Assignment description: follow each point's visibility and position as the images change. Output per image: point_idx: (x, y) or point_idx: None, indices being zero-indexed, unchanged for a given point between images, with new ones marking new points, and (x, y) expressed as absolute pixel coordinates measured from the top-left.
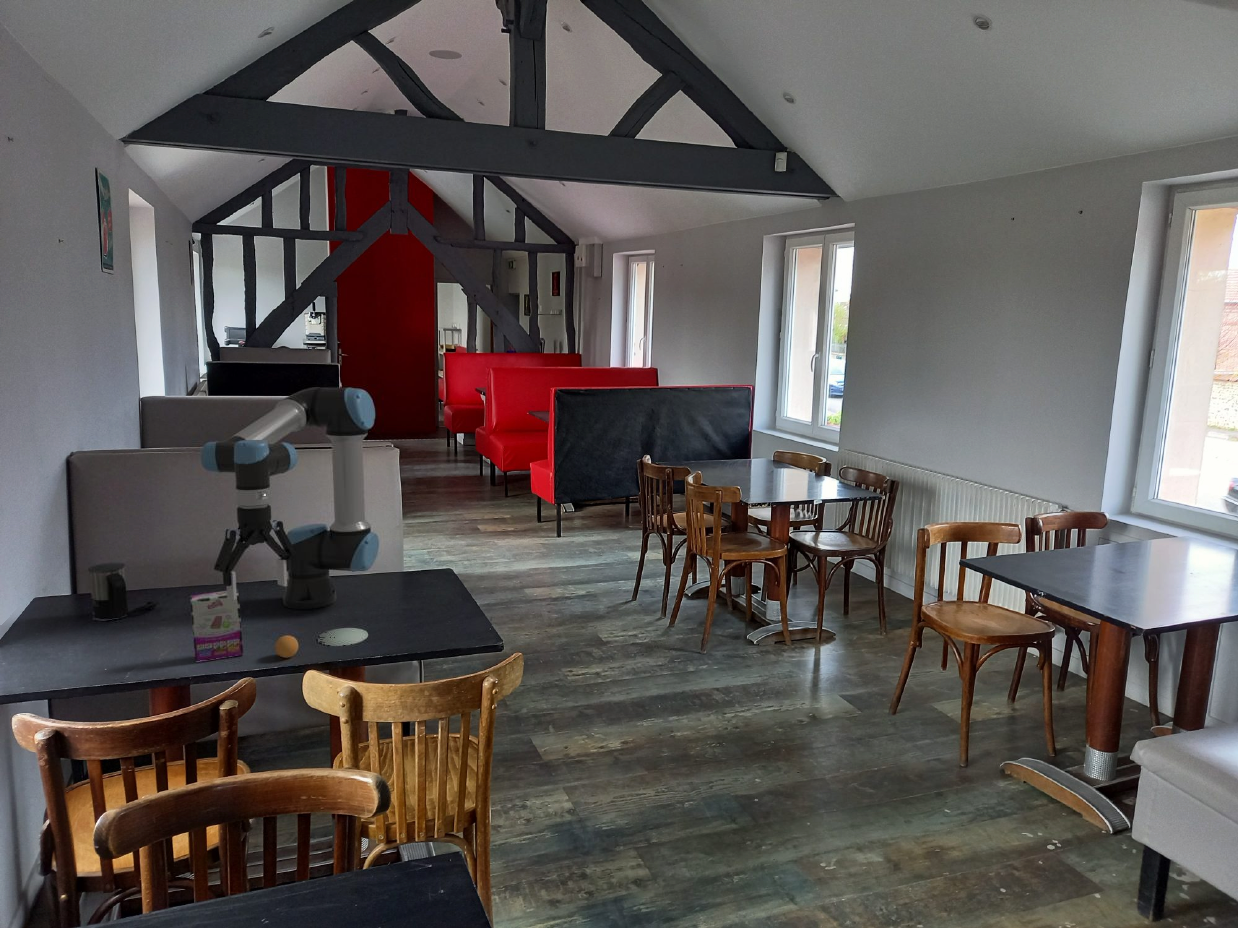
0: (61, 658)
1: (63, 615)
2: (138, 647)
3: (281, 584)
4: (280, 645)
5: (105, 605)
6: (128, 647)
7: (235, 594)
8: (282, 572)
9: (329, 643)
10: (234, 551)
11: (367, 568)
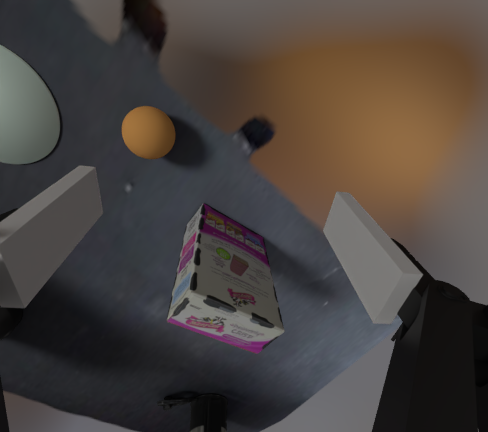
0: (318, 352)
1: (233, 422)
2: None
3: (96, 190)
4: (169, 130)
5: (221, 418)
6: None
7: (349, 201)
8: (60, 211)
9: (44, 100)
10: None
11: None
